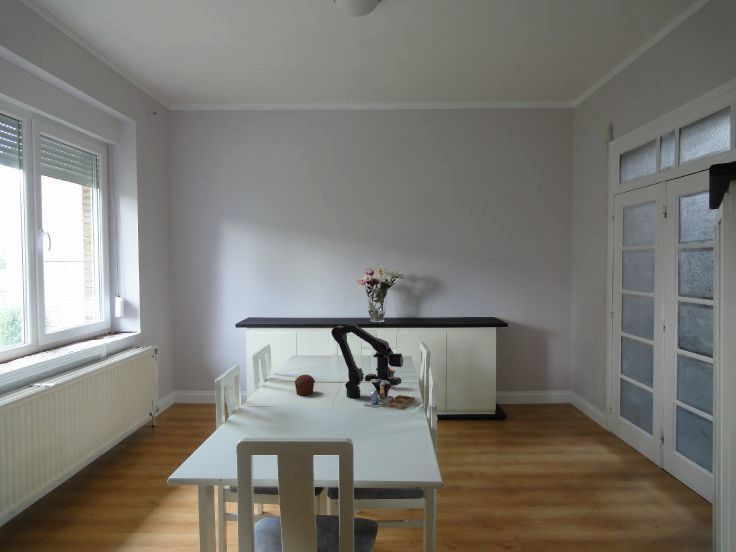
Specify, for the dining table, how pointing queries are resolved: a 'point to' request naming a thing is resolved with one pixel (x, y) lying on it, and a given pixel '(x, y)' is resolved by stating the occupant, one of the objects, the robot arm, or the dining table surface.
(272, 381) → the dining table surface
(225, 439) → the dining table surface
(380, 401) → the cradle
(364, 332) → the robot arm
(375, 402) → the cylinder
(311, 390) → the muffin
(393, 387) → the mug
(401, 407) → the tray
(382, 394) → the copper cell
